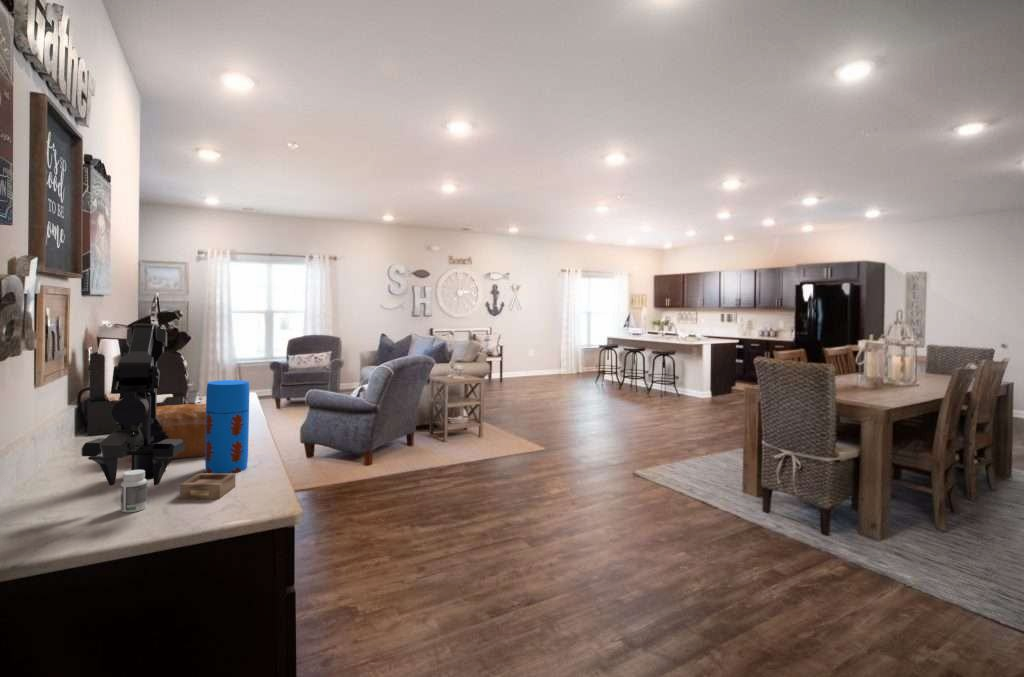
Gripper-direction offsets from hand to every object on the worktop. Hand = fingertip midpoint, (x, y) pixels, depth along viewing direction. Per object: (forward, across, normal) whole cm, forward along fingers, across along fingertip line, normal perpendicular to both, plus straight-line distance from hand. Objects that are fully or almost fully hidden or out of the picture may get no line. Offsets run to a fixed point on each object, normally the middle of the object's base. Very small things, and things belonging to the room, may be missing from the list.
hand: (134, 485), depth 116 cm
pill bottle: (+6, 0, 0) cm, 6 cm away
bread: (+6, -13, +47) cm, 49 cm away
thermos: (+6, +7, +31) cm, 32 cm away
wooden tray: (+5, +11, +11) cm, 16 cm away
